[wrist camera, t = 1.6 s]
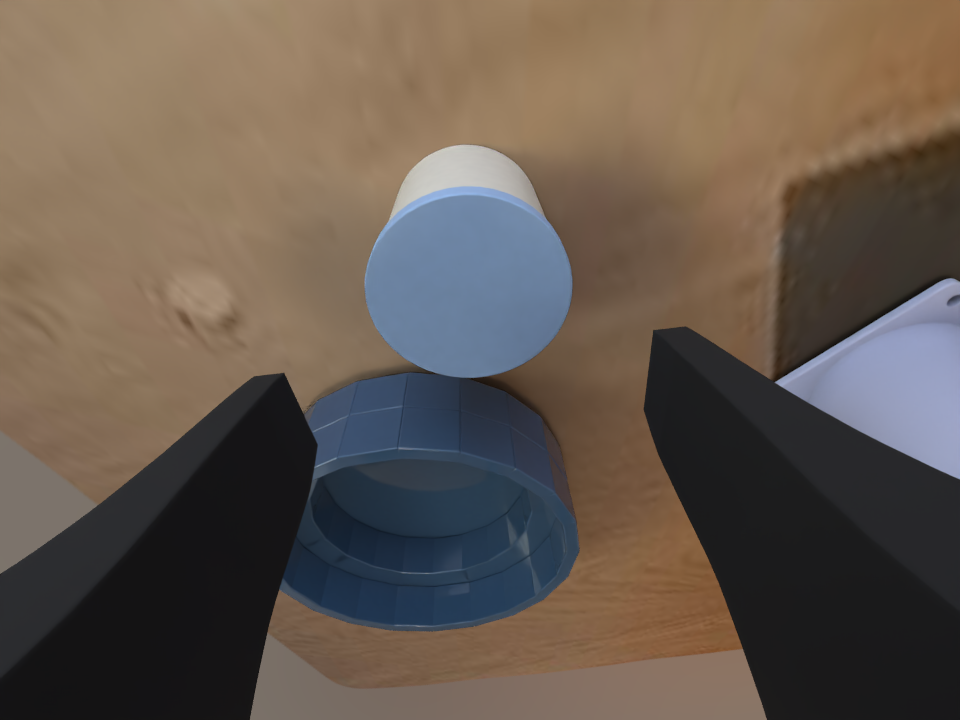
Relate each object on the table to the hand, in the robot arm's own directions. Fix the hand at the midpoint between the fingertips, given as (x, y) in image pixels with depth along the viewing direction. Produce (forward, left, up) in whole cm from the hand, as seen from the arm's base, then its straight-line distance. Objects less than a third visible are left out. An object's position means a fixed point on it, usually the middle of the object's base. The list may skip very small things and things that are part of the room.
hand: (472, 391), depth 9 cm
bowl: (-8, +11, -9) cm, 17 cm away
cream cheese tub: (0, 0, -9) cm, 9 cm away
